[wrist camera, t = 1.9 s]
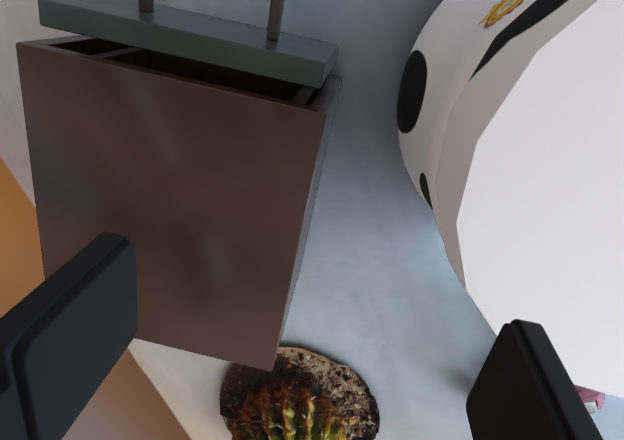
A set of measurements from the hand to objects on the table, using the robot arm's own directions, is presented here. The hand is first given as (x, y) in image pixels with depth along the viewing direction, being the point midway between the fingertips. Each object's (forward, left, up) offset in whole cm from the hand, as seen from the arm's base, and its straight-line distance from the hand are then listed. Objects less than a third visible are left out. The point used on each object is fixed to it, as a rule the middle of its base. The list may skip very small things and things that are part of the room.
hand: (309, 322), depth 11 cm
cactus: (+30, +2, -22) cm, 37 cm away
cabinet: (+6, -9, -22) cm, 24 cm away
